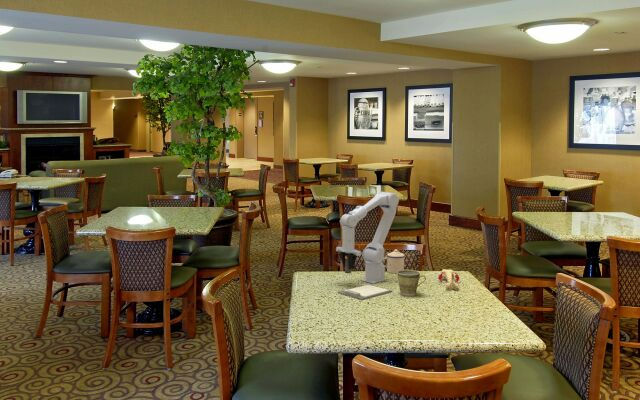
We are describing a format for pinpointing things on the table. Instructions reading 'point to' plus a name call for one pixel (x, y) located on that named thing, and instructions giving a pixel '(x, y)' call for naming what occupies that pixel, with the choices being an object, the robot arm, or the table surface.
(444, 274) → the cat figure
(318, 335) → the table surface
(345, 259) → the marker
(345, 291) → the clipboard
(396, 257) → the teacup with lid
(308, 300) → the table surface
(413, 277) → the ceramic cup
